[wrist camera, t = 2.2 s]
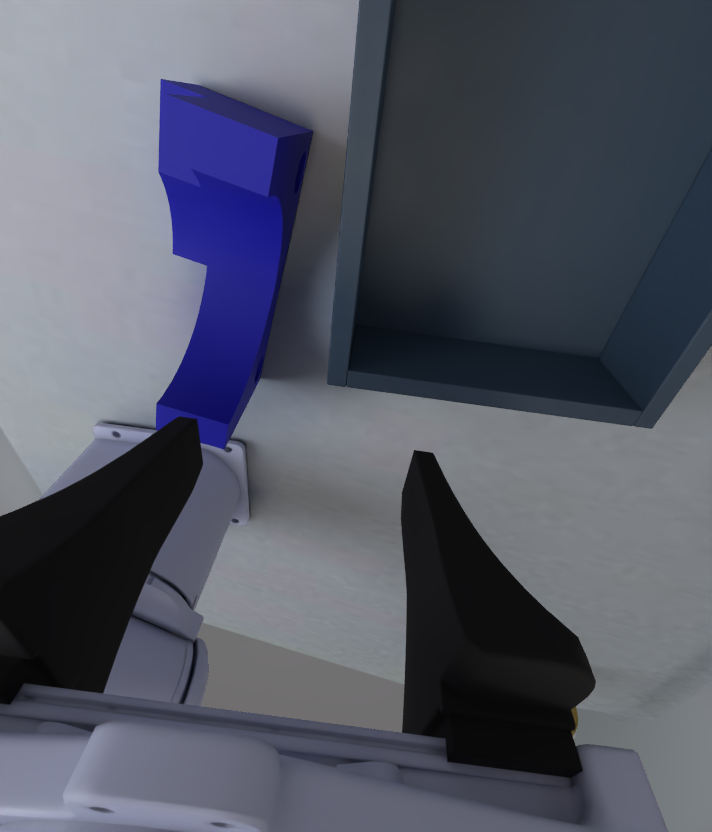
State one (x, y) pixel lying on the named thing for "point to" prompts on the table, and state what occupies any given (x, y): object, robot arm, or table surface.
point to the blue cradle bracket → (227, 242)
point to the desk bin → (528, 205)
